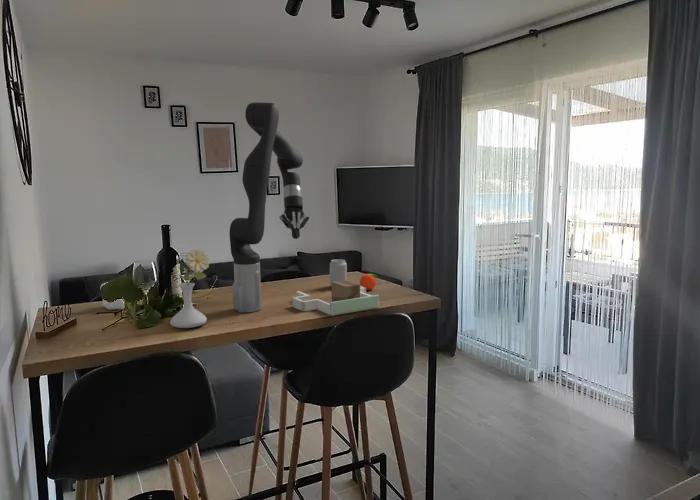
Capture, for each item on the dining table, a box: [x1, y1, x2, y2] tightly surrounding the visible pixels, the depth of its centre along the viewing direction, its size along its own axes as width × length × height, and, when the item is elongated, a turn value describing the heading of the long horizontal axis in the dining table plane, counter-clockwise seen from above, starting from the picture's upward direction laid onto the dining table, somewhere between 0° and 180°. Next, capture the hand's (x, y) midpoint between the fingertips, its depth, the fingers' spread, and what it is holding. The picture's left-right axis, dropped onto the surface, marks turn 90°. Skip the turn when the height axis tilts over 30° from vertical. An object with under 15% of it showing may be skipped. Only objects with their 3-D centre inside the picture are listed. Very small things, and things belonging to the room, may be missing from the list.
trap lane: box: [291, 285, 380, 316], centre depth 190 cm, size 32×27×4 cm
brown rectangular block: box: [331, 279, 361, 302], centre depth 185 cm, size 6×10×9 cm, turn 33°
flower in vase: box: [169, 248, 211, 329], centre depth 161 cm, size 13×11×25 cm
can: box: [329, 258, 348, 288], centre depth 219 cm, size 8×8×12 cm
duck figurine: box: [100, 281, 126, 311], centre depth 184 cm, size 12×8×11 cm
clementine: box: [359, 273, 379, 291], centre depth 213 cm, size 8×7×7 cm
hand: (296, 238), depth 202 cm, fingers closed
